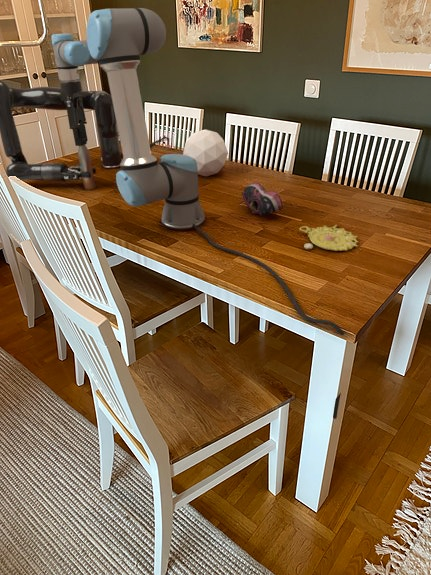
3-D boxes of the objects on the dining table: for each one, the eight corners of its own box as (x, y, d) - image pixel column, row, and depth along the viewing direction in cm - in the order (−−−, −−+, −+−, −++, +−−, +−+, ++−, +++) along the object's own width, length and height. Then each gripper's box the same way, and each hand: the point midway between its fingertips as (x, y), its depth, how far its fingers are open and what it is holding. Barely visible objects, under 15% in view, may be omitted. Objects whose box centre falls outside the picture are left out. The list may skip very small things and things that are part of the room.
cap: (75, 143, 179) (74, 138, 178) (84, 141, 181) (83, 136, 180) (79, 145, 177) (78, 140, 175) (88, 143, 179) (87, 138, 177)
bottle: (98, 187, 189) (89, 139, 178) (89, 190, 186) (80, 141, 175) (90, 185, 192) (82, 137, 181) (82, 188, 188) (72, 140, 178)
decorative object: (343, 255, 128) (285, 234, 139) (342, 262, 130) (284, 241, 140) (372, 230, 142) (317, 213, 152) (371, 237, 143) (316, 219, 153)
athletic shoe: (254, 181, 170) (227, 189, 167) (283, 176, 151) (253, 185, 147) (260, 210, 173) (234, 218, 170) (290, 209, 154) (261, 219, 150)
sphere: (211, 192, 199) (209, 165, 180) (177, 170, 204) (171, 142, 185) (236, 162, 204) (236, 133, 185) (201, 142, 209) (198, 112, 190)
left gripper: (45, 168, 179) (85, 169, 177) (60, 158, 191) (97, 158, 189) (49, 186, 183) (89, 187, 181) (63, 175, 195) (100, 176, 193)
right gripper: (72, 84, 158) (84, 149, 171) (87, 77, 174) (97, 137, 187) (51, 85, 158) (65, 150, 171) (68, 77, 175) (79, 137, 187)
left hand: (93, 172), depth 185 cm, fingers closed on bottle, 4 cm apart
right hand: (81, 143), depth 179 cm, fingers open, 6 cm apart
